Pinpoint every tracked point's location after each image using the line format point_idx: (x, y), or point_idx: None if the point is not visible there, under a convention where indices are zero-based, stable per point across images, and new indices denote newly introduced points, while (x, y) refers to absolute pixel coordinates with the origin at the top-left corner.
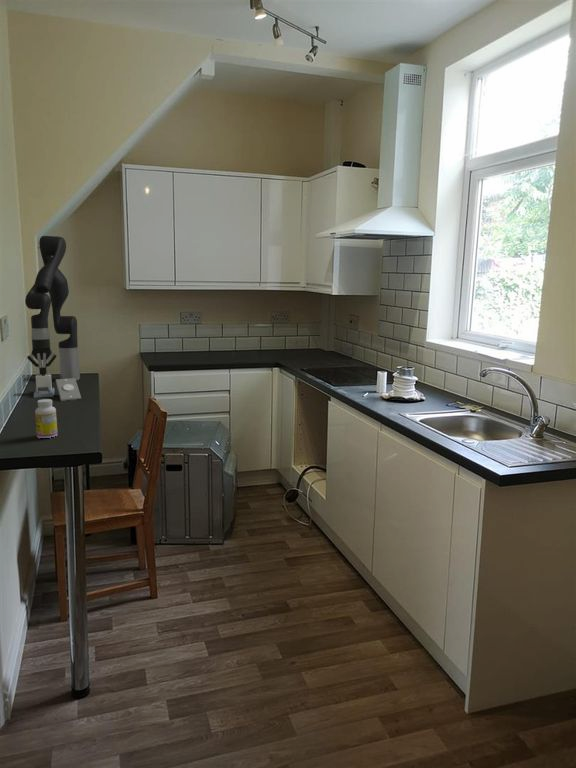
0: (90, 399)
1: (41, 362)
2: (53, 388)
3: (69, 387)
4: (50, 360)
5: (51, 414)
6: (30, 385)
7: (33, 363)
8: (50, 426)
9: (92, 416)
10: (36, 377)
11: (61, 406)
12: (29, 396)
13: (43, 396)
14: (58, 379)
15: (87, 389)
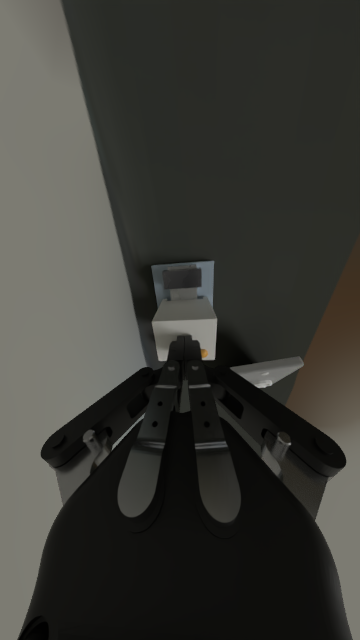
0: (287, 383)
1: (176, 392)
2: (211, 276)
3: (259, 387)
4: (245, 428)
5: None
6: (73, 46)
7: (133, 410)
8: None
9: (260, 454)
10: (162, 358)
11: (225, 414)
12: (151, 330)
13: None
14: (240, 375)
15: (327, 256)
